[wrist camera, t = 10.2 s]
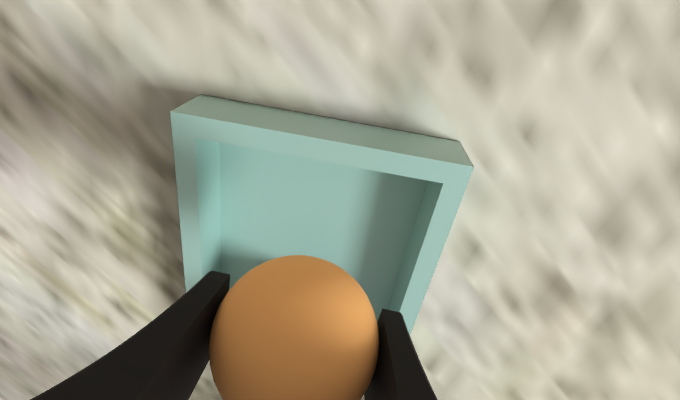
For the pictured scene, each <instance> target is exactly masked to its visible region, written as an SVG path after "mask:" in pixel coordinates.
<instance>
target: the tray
mask: <svg viewBox="0 0 680 400" xmlns="http://www.w3.org/2000/svg"><path fill="white" fill-rule="evenodd" d="M170 115H171V127H172V138H173V150H174V161H175V173H176V184H177V195H178V207H179V218H180V230H181V241H182V253H183V264H184V276H185V287H186V292H188V291H189V290H190V289H191V288H192V287H193V286H194V285H195V284H196V283H198V282H199V281H200V280H201V279H202V278H203V277H204V276H205V275H206V274H207V273H208V272H210V271H217V272H221V273H226V274H230V286H229V290H230V289H231V288H232V287H233V285H234V284H235V283H236V282H237V281H238V280H239V279H240V278H241V277H242V276H244V275H245V274H246V273H247V272H249V271H250V270H251V269H253V268H255V267H257V266H258V265H260V264H262V263H264V262H266V261H269V260H271V259H275V258H279V257H283V256H290V255H305V256H312V257H317V258H321V259H324V260H326V261H329V262H331V263H333V264H335V265H337V266H339V267H340V268H342V269H343V270H345V271H346V272H347V273H348V274H349V275H350V276H352V277H353V278H354V279H355V280H356V281H357V282H358V284H359V285H360V286H361V288H362V289H363V290H364V292H365V293H366V295H367V296H368V299H369V301H370V303H371V305H372V307H373V310H374V313H375V316H376V320H377V321H378V319H379V316H380V313H381V311H382V308H383V309H388V310H392V311H397V312H401V314H402V315H403V318H404V321H405V324H406V327H407V330H408V332H409V335H410V333H411V331H412V328H413V326H414V323H415V320H416V318H417V315H418V312H419V310H420V307H421V305H422V302H423V299H424V297H425V294H426V291H427V289H428V286H429V284H430V281H431V278H432V276H433V273H434V271H435V268H436V265H437V263H438V260H439V257H440V255H441V252H442V250H443V247H444V244H445V242H446V239H447V236H448V234H449V231H450V229H451V226H452V223H453V221H454V218H455V215H456V213H457V210H458V208H459V205H460V202H461V200H462V197H463V194H464V192H465V189H466V187H467V184H468V181H469V179H470V176H471V173H472V171H473V168H474V166H473V164H472V162H471V161H470V159H469V157H468V155H467V153H466V152H465V150H464V148H463V146H462V144H461V143H460V142H459V141H453V140H448V139H443V138H437V137H432V136H426V135H421V134H415V133H410V132H404V131H399V130H393V129H388V128H382V127H377V126H371V125H366V124H360V123H355V122H349V121H344V120H338V119H333V118H327V117H322V116H316V115H311V114H305V113H300V112H294V111H289V110H283V109H278V108H273V107H267V106H262V105H256V104H251V103H245V102H240V101H234V100H229V99H223V98H218V97H212V96H207V95H199V96H197V97H195V98H193V99H192V100H190V101H188V102H186V103H184V104H183V105H181V106H179V107H177V108H175V109H174V110H172V111H170Z"/></svg>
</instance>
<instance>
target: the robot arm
mask: <svg viewBox="0 0 680 400" xmlns="http://www.w3.org/2000/svg"><path fill="white" fill-rule="evenodd" d="M229 286H230V274H226V273H221V272H217V271H210V272H208V273H207V274H206V275H205V276H204V277H203V278H202V279H201V280H200V281H199V282H198V283H196V284H195V285H194V286H193V287H192V288H191V289H190V290H189V291H188V292H186V293H185V294H184V295H183V296H182V297H181V298H180V299H178V300H177V301H176V302H175V303H174V304H173V305H171V306H170V307H169V308H168V309H166V310H165V311H164V312H163V313H162V314H160V315H159V316H158V317H157V318H156V319H154V320H153V321H152V322H150V323H149V324H148V325H146V326H145V327H144V328H142V329H141V330H140V331H138V332H137V333H136V334H134V335H133V336H132V337H131V338H129V339H128V340H126V341H125V342H124V343H122V344H121V345H119V346H118V347H116V348H115V349H114V350H112V351H111V352H109V353H108V354H106V355H105V356H103V357H102V358H100V359H98V360H97V361H95V362H94V363H92V364H91V365H89V366H88V367H86V368H84V369H83V370H81V371H79V372H78V373H76V374H74V375H73V376H71V377H69V378H68V379H66V380H65V381H63V382H61V383H59V384H58V385H56V386H54V387H52V388H51V389H49V390H47V391H45V392H44V393H42V394H40V395H38V396H36V397H34V398H32V399H30V400H188V399H189V397H190V395H191V394H192V392H193V390H194V388H195V386H196V384H197V382H198V380H199V378H200V376H201V375H202V373H203V371H204V369H205V367H206V365H207V363H208V361H209V359H210V358H209V341H210V333H211V328H212V324H213V321H214V318H215V315H216V313H217V310H218V308H219V306H220V304H221V302H222V301H223V299H224V298H225V296H226V294H227V293H228V291H229ZM377 324H378V334H379V351H378V360H377V364H376V368H375V371H374V374H373V377H372V379H371V382H370V384H369V386H368V388H367V390H366V391H365V393H364V398H365V400H437V398H436V396H435V394H434V392H433V389H432V387H431V385H430V383H429V381H428V379H427V376H426V374H425V372H424V370H423V367H422V365H421V363H420V360H419V358H418V356H417V353H416V351H415V348H414V346H413V343H412V340H411V338H410V335H409V332H408V330H407V327H406V324H405V321H404V318H403V315H402V314H401V312H397V311H392V310H388V309H383V308H382V311H381V313H380V316H379V319H378V321H377Z"/></svg>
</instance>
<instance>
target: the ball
mask: <svg viewBox="0 0 680 400" xmlns="http://www.w3.org/2000/svg"><path fill="white" fill-rule="evenodd" d="M378 351H379V334H378V324H377V320H376V316H375V313H374V310H373V307H372V305H371V303H370V301H369V299H368V296H367V295H366V293H365V292H364V290H363V289H362V288H361V286H360V285H359V284H358V282H357V281H356V280H355V279H354V278H353V277H352V276H350V275H349V274H348V273H347V272H346V271H345V270H343V269H342V268H340V267H339V266H337V265H335V264H333V263H331V262H329V261H326V260H324V259H321V258H317V257H312V256H305V255H290V256H283V257H279V258H275V259H271V260H269V261H266V262H264V263H262V264H260V265H258V266H257V267H255V268H253V269H251V270H250V271H249V272H247V273H246V274H245V275H244V276H242V277H241V278H240V279H239V280H238V281H237V282H236V283H235V284H234V285H233V287H232V288H231V289H230V290H229V291H228V293H227V294H226V296H225V298H224V299H223V301H222V302H221V304H220V306H219V308H218V310H217V313H216V315H215V318H214V321H213V324H212V328H211V333H210V341H209V358H210V367H211V371H212V375H213V379H214V382H215V384H216V386H217V389H218V391H219V393H220V395H221V397H222V398H223V400H360V399H361V398H362V396H363V395H364V393H365V391H366V390H367V388H368V386H369V384H370V382H371V379H372V377H373V374H374V371H375V368H376V364H377V360H378Z"/></svg>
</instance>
